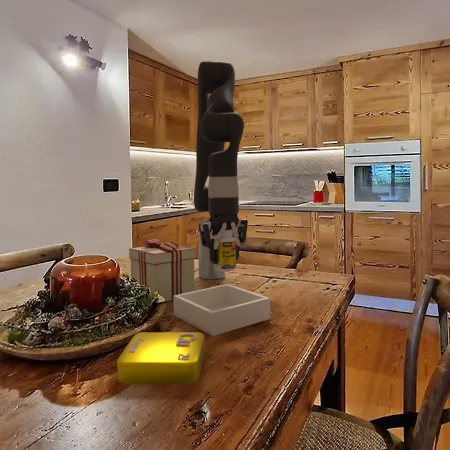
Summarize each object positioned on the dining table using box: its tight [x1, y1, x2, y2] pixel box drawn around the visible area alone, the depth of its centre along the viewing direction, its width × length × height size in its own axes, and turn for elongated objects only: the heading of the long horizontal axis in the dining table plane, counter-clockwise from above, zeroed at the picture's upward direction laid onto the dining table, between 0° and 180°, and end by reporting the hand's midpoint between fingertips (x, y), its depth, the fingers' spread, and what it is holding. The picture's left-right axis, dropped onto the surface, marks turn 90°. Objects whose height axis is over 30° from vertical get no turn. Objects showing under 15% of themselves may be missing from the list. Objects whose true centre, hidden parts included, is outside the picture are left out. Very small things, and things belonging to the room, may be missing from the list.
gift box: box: [128, 238, 196, 303], centre depth 128 cm, size 17×18×17 cm
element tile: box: [116, 331, 206, 386], centre depth 80 cm, size 15×15×5 cm
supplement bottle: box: [214, 230, 237, 272], centre depth 103 cm, size 6×6×10 cm
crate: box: [172, 283, 271, 337], centre depth 106 cm, size 18×18×6 cm
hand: (224, 261), depth 103 cm, fingers closed on supplement bottle, 5 cm apart
